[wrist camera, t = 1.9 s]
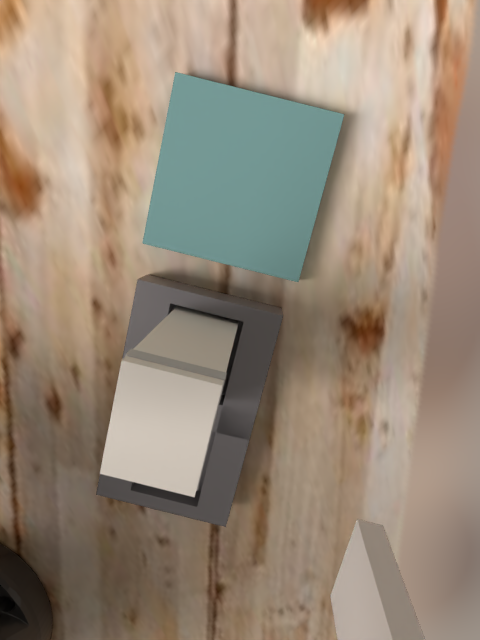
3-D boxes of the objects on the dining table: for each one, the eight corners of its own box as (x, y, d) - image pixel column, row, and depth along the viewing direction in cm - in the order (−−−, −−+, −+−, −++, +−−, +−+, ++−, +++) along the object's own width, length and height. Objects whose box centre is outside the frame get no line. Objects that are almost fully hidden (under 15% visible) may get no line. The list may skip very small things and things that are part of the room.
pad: (297, 280, 29) (298, 282, 28) (146, 242, 29) (142, 243, 28) (341, 118, 27) (344, 114, 26) (178, 77, 27) (175, 72, 26)
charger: (222, 390, 30) (195, 498, 19) (162, 376, 30) (98, 474, 19) (240, 318, 29) (223, 384, 17) (178, 303, 29) (120, 358, 17)
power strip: (228, 504, 33) (225, 529, 30) (108, 474, 33) (94, 497, 30) (281, 307, 30) (283, 316, 27) (148, 274, 30) (136, 279, 27)
